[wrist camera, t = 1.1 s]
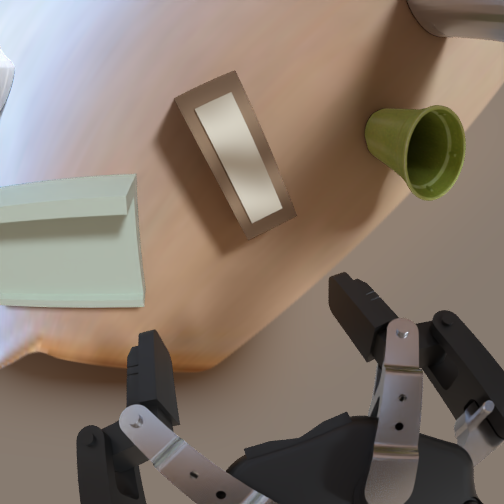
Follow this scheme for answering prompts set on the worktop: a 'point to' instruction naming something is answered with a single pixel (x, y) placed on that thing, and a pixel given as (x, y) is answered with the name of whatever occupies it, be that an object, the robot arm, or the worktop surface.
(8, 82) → the jar
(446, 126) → the plant pot
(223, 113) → the frame
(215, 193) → the worktop surface
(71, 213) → the ledge
